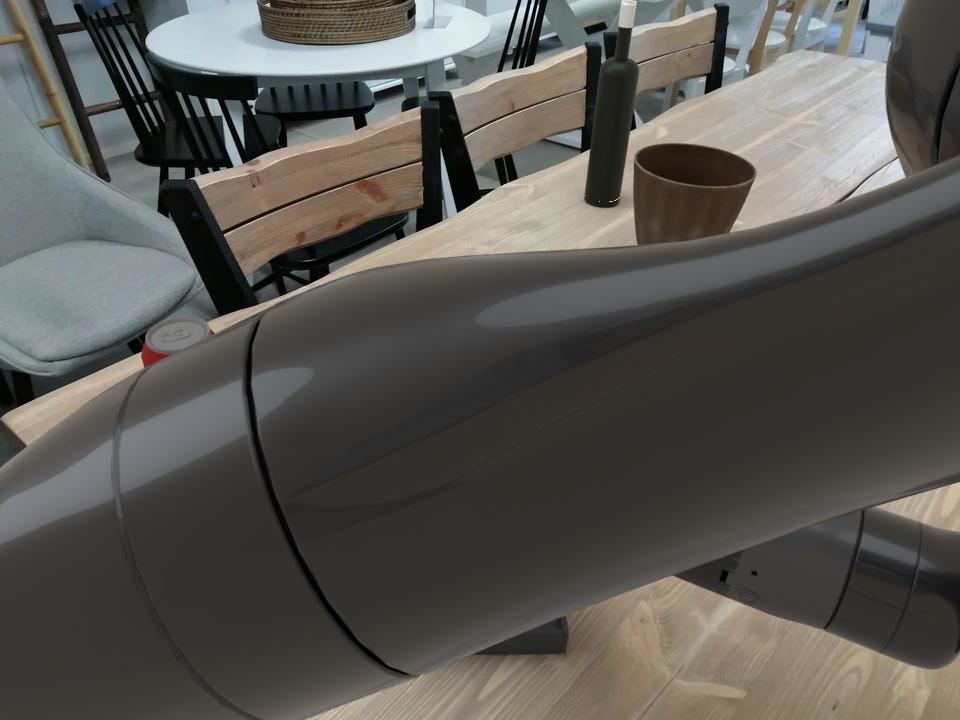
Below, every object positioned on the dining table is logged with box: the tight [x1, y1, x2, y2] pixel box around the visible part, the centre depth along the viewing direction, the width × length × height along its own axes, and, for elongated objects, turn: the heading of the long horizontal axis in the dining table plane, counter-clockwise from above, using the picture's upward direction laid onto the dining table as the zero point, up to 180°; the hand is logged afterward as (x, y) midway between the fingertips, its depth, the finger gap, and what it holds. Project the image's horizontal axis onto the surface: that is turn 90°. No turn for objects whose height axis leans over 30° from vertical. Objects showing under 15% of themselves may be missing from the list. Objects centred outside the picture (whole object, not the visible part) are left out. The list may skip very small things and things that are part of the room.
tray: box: [473, 615, 570, 655], centre depth 56 cm, size 12×7×2 cm, turn 92°
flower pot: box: [632, 142, 758, 245], centre depth 97 cm, size 15×15×16 cm
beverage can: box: [140, 316, 216, 368], centre depth 68 cm, size 7×7×12 cm
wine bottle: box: [583, 0, 640, 208], centre depth 112 cm, size 6×6×30 cm
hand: (483, 435), depth 47 cm, fingers closed on cup, 6 cm apart
